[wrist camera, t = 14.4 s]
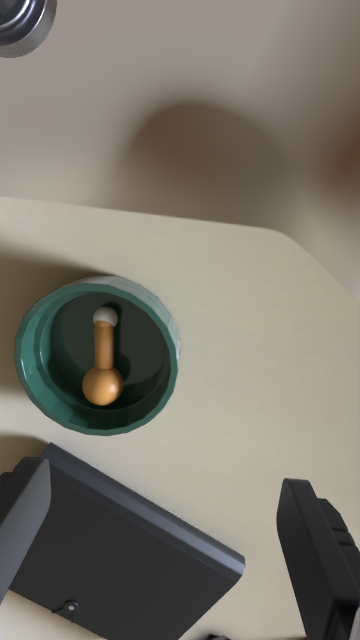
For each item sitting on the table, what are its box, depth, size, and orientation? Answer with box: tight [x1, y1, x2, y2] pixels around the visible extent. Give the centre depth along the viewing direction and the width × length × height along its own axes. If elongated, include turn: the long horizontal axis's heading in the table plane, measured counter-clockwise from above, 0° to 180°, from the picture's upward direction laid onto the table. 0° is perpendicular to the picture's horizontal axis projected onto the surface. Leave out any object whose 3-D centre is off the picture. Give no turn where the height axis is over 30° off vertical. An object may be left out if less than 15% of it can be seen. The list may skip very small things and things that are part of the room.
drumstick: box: [82, 306, 123, 405], centre depth 37 cm, size 12×5×5 cm, turn 176°
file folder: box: [8, 442, 245, 640], centre depth 47 cm, size 33×4×24 cm
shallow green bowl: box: [14, 275, 180, 436], centre depth 37 cm, size 18×18×6 cm
